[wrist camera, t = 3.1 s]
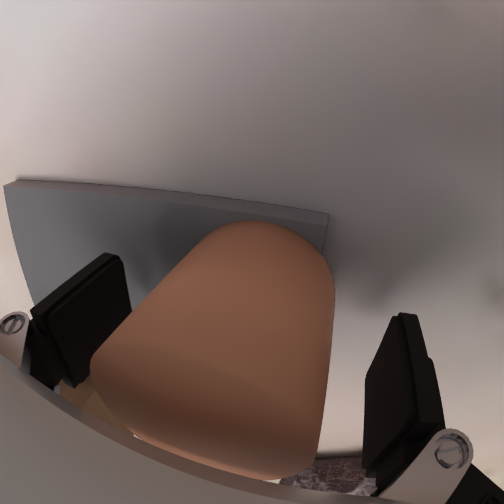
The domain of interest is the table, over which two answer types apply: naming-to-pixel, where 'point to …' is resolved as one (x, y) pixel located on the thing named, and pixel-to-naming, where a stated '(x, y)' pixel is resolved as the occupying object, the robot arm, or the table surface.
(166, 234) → the slate board
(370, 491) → the rock
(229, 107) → the table surface
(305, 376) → the cylinder
